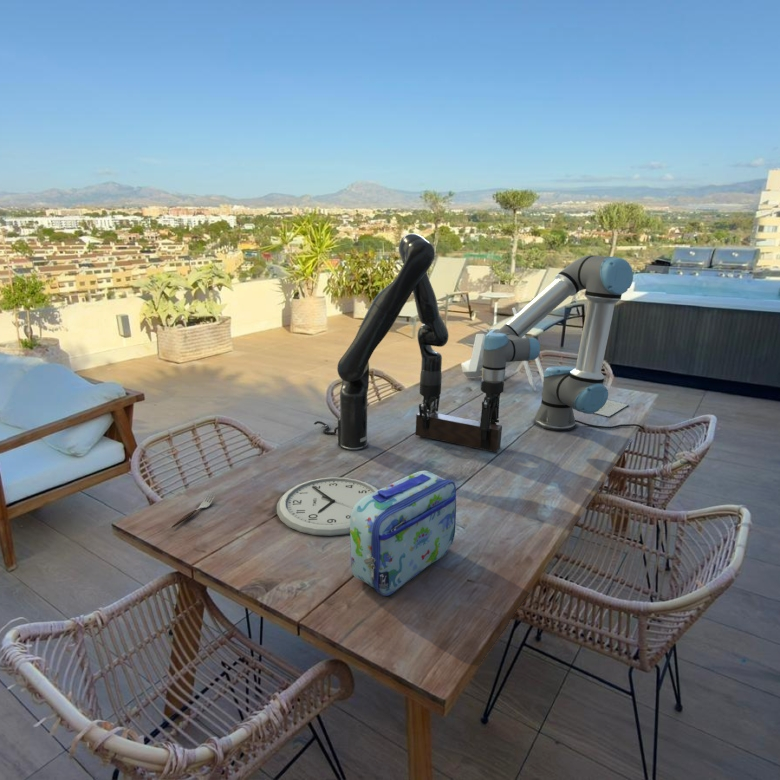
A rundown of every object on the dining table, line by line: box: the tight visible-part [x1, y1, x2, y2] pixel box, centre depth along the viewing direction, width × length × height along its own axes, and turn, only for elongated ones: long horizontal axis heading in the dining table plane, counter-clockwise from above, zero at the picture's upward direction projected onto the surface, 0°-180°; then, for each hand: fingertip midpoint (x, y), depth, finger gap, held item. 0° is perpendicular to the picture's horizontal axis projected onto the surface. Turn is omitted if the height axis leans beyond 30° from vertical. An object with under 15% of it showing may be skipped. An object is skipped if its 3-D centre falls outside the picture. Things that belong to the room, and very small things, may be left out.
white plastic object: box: [460, 307, 545, 391], centre depth 258 cm, size 37×45×31 cm
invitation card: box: [594, 399, 629, 418], centre depth 226 cm, size 21×1×15 cm
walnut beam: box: [415, 412, 503, 453], centre depth 184 cm, size 30×5×8 cm, turn 63°
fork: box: [171, 493, 217, 529], centre depth 137 cm, size 3×16×2 cm, turn 160°
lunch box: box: [349, 470, 457, 597], centre depth 114 cm, size 26×11×21 cm, turn 134°
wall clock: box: [276, 476, 380, 537], centre depth 142 cm, size 30×2×30 cm
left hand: (428, 426), depth 189 cm, fingers closed on walnut beam, 5 cm apart
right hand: (487, 443), depth 180 cm, fingers open, 7 cm apart
